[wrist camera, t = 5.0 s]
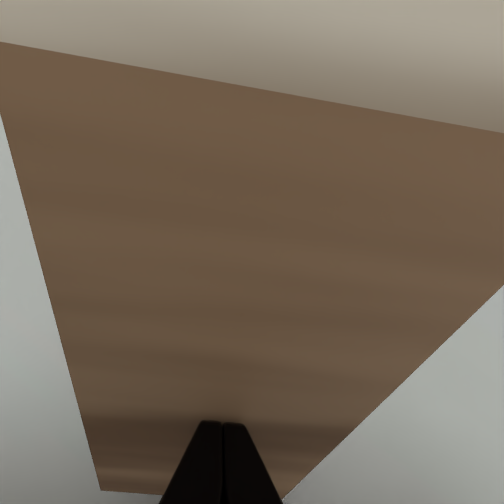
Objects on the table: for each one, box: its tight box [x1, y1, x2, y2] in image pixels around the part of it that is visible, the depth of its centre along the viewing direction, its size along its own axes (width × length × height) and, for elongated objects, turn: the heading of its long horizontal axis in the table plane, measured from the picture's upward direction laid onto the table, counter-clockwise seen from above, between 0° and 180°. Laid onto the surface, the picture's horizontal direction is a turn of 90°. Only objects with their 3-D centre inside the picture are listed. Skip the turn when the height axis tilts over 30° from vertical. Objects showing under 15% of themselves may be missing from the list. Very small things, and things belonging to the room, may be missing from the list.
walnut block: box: [0, 0, 504, 499], centre depth 10 cm, size 5×5×14 cm
